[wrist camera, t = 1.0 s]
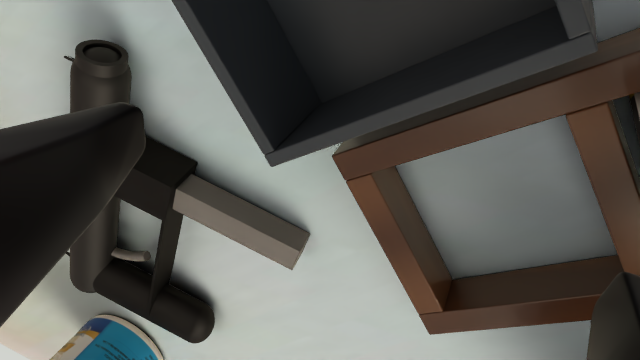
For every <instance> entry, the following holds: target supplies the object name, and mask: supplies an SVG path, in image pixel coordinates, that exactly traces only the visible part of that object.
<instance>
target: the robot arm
mask: <svg viewBox="0 0 640 360" xmlns="http://www.w3.org/2000/svg"><path fill="white" fill-rule="evenodd" d="M145 145H146V138H145V129H144V119H143V113H142V111H141V109H139V108H138V107H136V106H133V105H130V104H127V103H124V102H117V103H113V104H109V105H104V106H100V107H96V108H91V109H87V110H82V111H78V112H74V113H69V114H65V115H61V116H56V117H52V118H48V119H43V120H39V121H34V122H30V123H26V124H21V125H17V126H13V127H8V128H4V129H0V327H1V326H2V325H3V324H4V323H5V321H6V320H7V319H8V318H9V317H10V316H11V315H12V313H13V312H14V311H15V310H16V309H17V308H18V307H19V305H20V304H21V303H22V302H23V301H24V300H25V299H26V297H27V296H28V295H29V294H30V293H31V292H32V291H33V289H34V288H35V287H36V286H37V285H38V284H39V283H40V282H41V280H42V279H43V278H44V277H45V276H46V275H47V274H48V272H49V271H50V270H51V269H52V268H53V267H54V266H55V264H56V263H57V262H58V261H59V260H60V259H61V258H62V256H63V255H64V254H65V253H66V252H67V251H68V250H69V248H70V247H71V246H72V245H73V244H74V243H75V242H76V241H77V239H78V238H79V237H80V236H81V235H82V234H83V233H84V231H85V230H86V229H87V228H88V227H89V226H90V225H91V223H92V222H93V221H94V220H95V219H96V218H97V216H98V215H99V214H100V213H101V212H102V210H103V209H104V208H105V206H106V205H107V204H108V202H109V201H110V200H111V198H112V197H113V195H114V194H115V193H116V191H117V190H118V188H119V187H120V185H121V184H122V183H123V181H124V180H125V178H126V177H127V175H128V174H129V173H130V171H131V170H132V168H133V167H134V165H135V164H136V163H137V161H138V160H139V158H140V157H141V155H142V154H143V152H144V149H145ZM587 360H640V276H638V275H635V274H632V273H629V272H621V273H619V274H618V275H617V276H616V277H615V278H614V280H613V281H612V282H611V283H610V285H609V286H608V287H607V289H606V290H605V291H604V292H603V294H602V295H601V296H600V298H599V299H598V300H597V302H596V304H595V306H594V309H593V312H592V319H591V328H590V336H589V344H588V352H587Z"/></svg>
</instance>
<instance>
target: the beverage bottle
mask: <svg viewBox="0 0 640 360" xmlns="http://www.w3.org/2000/svg"><path fill="white" fill-rule="evenodd" d="M50 360H163V357H162V355H161V353H160V351H159V350H158V348H157V347H156V345H155V344H154V343H153V342H152V340H151V339H150V338H149V337H148V336H147V335H146V334H145V333H144V332H142V331H141V330H140V329H139V328H137V327H136V326H134V325H133V324H131V323H129V322H128V321H126V320H124V319H121V318H119V317H116V316H112V315H98V316H95V317H93V318H92V319H90V320H89V321H88V322H87V323H86V324H85V325H84V326H83V327H82V328H81V329H80V330H79V332H78V333H77V334H76V335H75V336H74V337H73V338H72V339H71V340H70V341H69V342H67V343H66V344H65V345H64V346H63V347H62V348H61V349H60V350H59V351H58V352H57V353H56V354H55V355H54V356H53V357H52V358H51V359H50Z"/></svg>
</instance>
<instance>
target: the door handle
mask: <svg viewBox="0 0 640 360" xmlns="http://www.w3.org/2000/svg"><path fill="white" fill-rule="evenodd" d="M64 58H66V59H68V60H70V61H72V62H73V63H72V66H71V72H70V113H74V112H78V111H82V110H87V109H91V108H96V107H100V106H104V105H109V104H113V103H117V102H124V103H127V104H129V99H130V88H131V71H130V68H129V65H128V53H127V51H126V50H125V49H124V48H122V47H121V46H119V45H117V44H115V43H112V42H109V41H103V40H88V41H84V42H82V43H80V44H78V45H77V46H76V49H75V59H74V58H72V57H71V58H72V59H71V58H69V57H67V56H64ZM73 59H74V60H73ZM145 138H146V145H145V149H144V152H143V154H142V155H141V157H140V158H139V160H138V161H137V163H136V164H135V165H134V167H133V168H132V170H131V171H130V173H129V174H128V175H127V177H126V178H125V180H124V181H123V183H122V184H121V185H120V187H119V188H118V190H117V191H116V193H115V194H114V195H113V197H112V198H111V200H110V201H109V202H108V204H107V205H106V206H105V208H104V209H103V210H102V212H101V213H100V214H99V215H98V216H97V218H96V219H95V220H94V221H93V222H92V223H91V225H90V226H89V227H88V228H87V229H86V230H85V231H84V233H83V234H82V235H81V236H80V237H79V238H78V239H77V241H76V242H75V243H74V244H73V245H72V246H71V247H70V253H69V252H66V254H67V255H69V256H70V279H71V281H72V283H73V285H74V286H75V287H76V288H77V289H78V290H80V291H82V292H86V293H95V292H97V293H98V294H100V295H102V296H104V297H106V298H108V299H110V300H111V301H113V302H115V303H117V304H119V305H121V306H123V307H125V308H126V309H128V310H130V311H132V312H134V313H136V314H138V315H139V316H141V317H143V318H145V319H147V320H149V321H151V322H153V323H154V324H156V325H158V326H160V327H162V328H164V329H166V330H168V331H169V332H171V333H173V334H175V335H177V336H179V337H181V338H182V339H184V340H186V341H188V342H190V343H199V342H202V341H204V340H205V339H206V338H207V337H208V336H209V335H210V334H211V332H212V330H213V327H214V323H215V317H214V312H213V310H212V309H211V307H210V306H209V305H207V304H206V303H204V302H202V301H200V300H198V299H196V298H194V297H192V296H190V295H189V294H187V293H185V292H183V291H181V290H179V289H177V288H175V287H173V286H172V285H170V284H169V283H170V278H171V273H172V269H173V264H174V259H175V254H176V249H177V244H178V239H179V234H180V229H181V224H182V219H183V215H185V216H187V217H189V218H191V219H193V220H195V221H197V222H199V223H201V224H203V225H205V226H207V227H209V228H211V229H213V230H215V231H217V232H218V233H220V234H222V235H224V236H226V237H228V238H230V239H232V240H234V241H236V242H238V243H240V244H242V245H244V246H246V247H248V248H250V249H252V250H254V251H256V252H257V253H259V254H261V255H263V256H265V257H267V258H269V259H271V260H273V261H275V262H277V263H279V264H281V265H283V266H285V267H287V268H289V269H291V270H293V268H294V266H295V264H296V262H297V261H298V259H299V257H300V255H301V254H302V252H303V249H304V247H305V245H306V243H307V240H308V238H309V236H310V233H308V232H306V231H304V230H302V229H300V228H298V227H296V226H294V225H292V224H290V223H288V222H286V221H284V220H282V219H280V218H278V217H276V216H274V215H272V214H270V213H268V212H266V211H264V210H262V209H260V208H258V207H256V206H254V205H252V204H250V203H248V202H246V201H244V200H242V199H240V198H238V197H236V196H234V195H232V194H230V193H228V192H226V191H224V190H222V189H220V188H218V187H216V186H214V185H213V184H211V183H209V182H207V181H205V180H203V179H201V178H199V177H197V176H195V171H196V166H197V162H196V161H194V160H192V159H190V158H188V157H186V156H184V155H182V154H180V153H178V152H176V151H174V150H173V149H171V148H169V147H167V146H165V145H163V144H161V143H159V142H157V141H155V140H153V139H151V138H149V137H147V136H145ZM121 199H122V200H124V201H126V202H128V203H130V204H131V205H133V206H135V207H137V208H139V209H141V210H143V211H145V212H147V213H149V214H151V215H153V216H155V217H157V218H159V219H161V220H162V224H161V230H160V236H159V242H158V248H157V254H156V260H155V266H154V272H153V275H151V274H149V273H147V272H145V271H143V270H141V269H139V268H137V267H135V266H134V265H132V264H130V263H128V262H126V261H124V260H122V259H125V260H130V261H148V260H150V258H151V254H150V252H149V251H141V252H137V251H127V250H123V249H119V248H117V247H116V244H117V233H118V222H119V211H120V200H121ZM120 258H121V259H120Z"/></svg>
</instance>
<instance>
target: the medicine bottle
mask: <svg viewBox="0 0 640 360" xmlns="http://www.w3.org/2000/svg"><path fill="white" fill-rule="evenodd" d="M629 98H630V103H631V108H632V112H633V117H634V122H635V126H636V131H637V136H638V140H639V145H640V92H638V93H634V94H631V95H629Z"/></svg>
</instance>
